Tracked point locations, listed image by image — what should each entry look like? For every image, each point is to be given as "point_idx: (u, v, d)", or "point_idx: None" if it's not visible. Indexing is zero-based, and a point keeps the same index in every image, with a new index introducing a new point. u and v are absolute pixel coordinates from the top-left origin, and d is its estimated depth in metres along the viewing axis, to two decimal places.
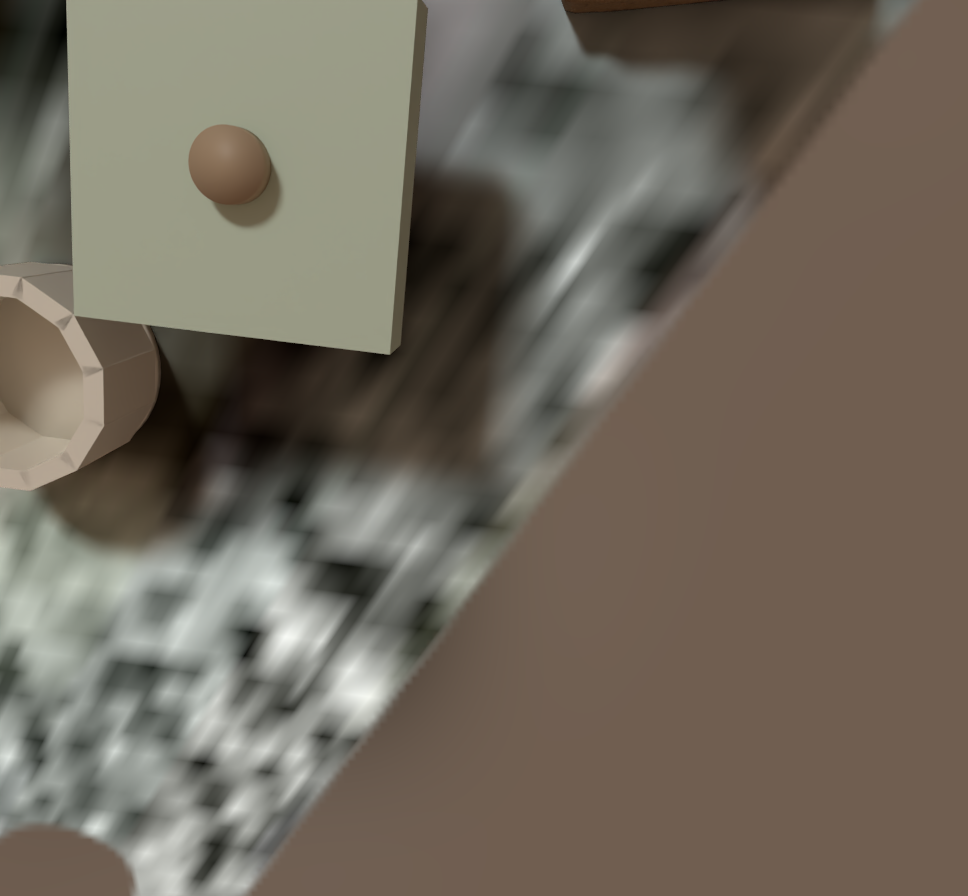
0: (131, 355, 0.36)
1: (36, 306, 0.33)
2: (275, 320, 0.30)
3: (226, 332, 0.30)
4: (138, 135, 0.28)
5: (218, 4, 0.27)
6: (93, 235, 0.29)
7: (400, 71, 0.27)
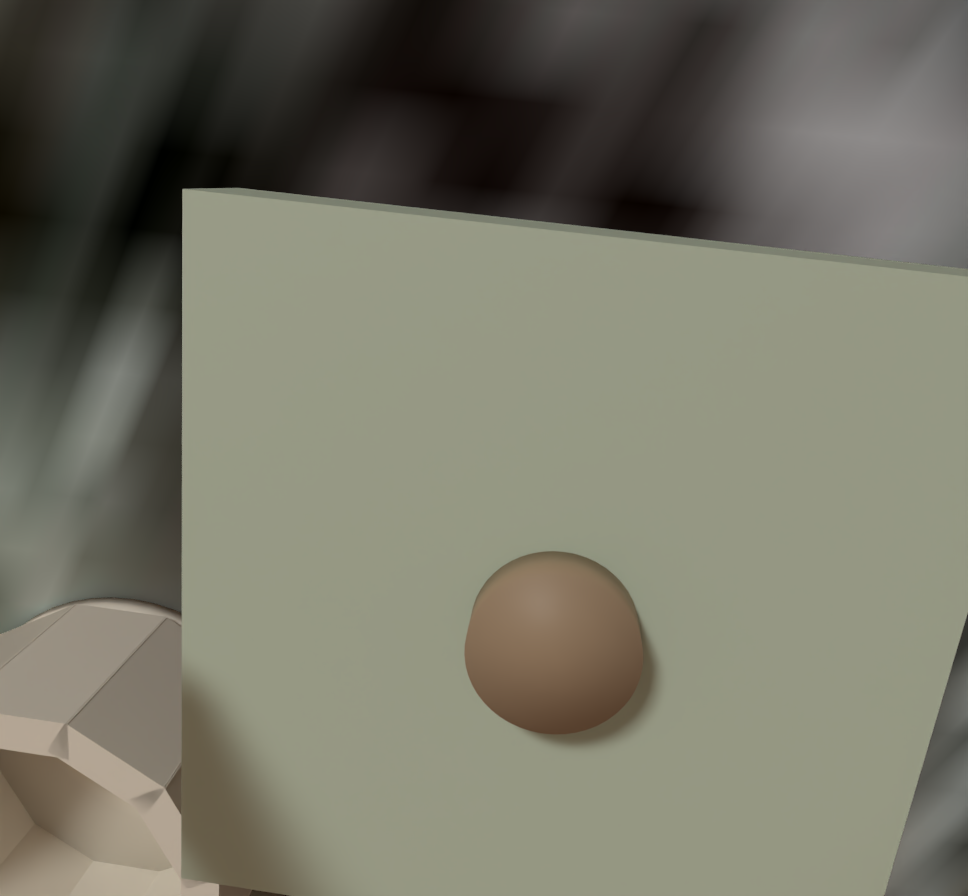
0: None
1: (94, 772, 0.17)
2: None
3: None
4: (337, 560, 0.13)
5: (551, 295, 0.11)
6: (227, 741, 0.14)
7: None
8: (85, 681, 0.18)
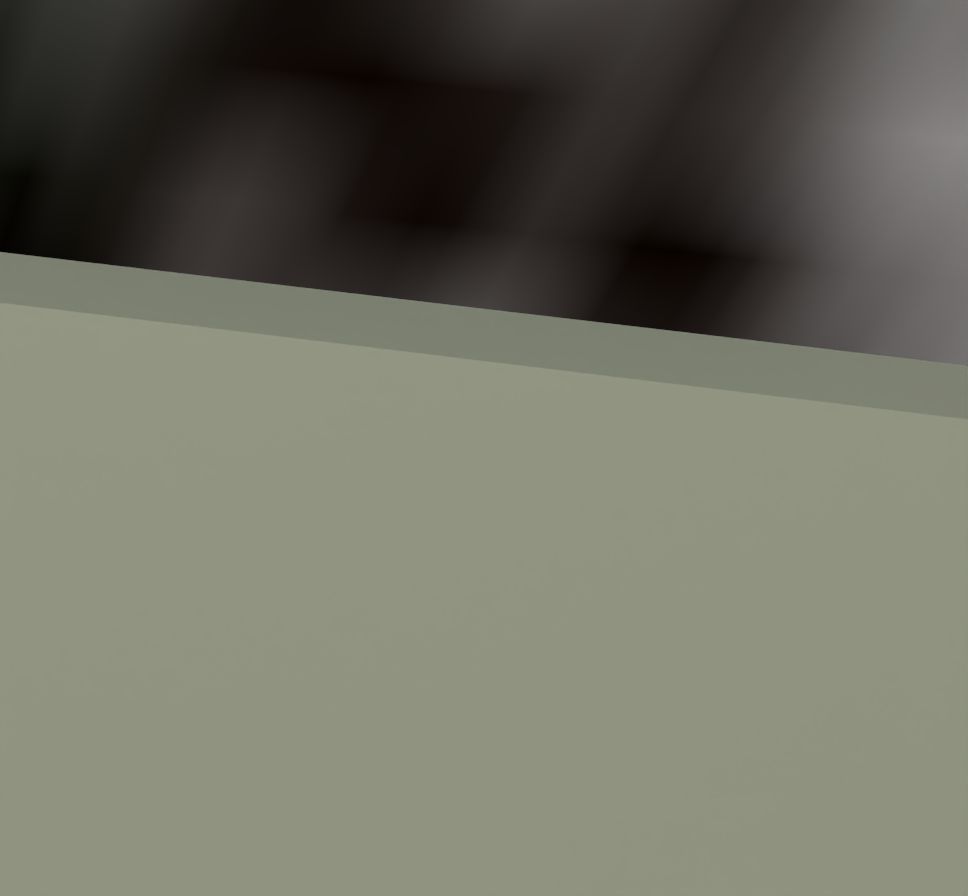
0: None
1: None
2: None
3: None
4: None
5: (497, 514, 0.05)
6: None
7: None
8: None
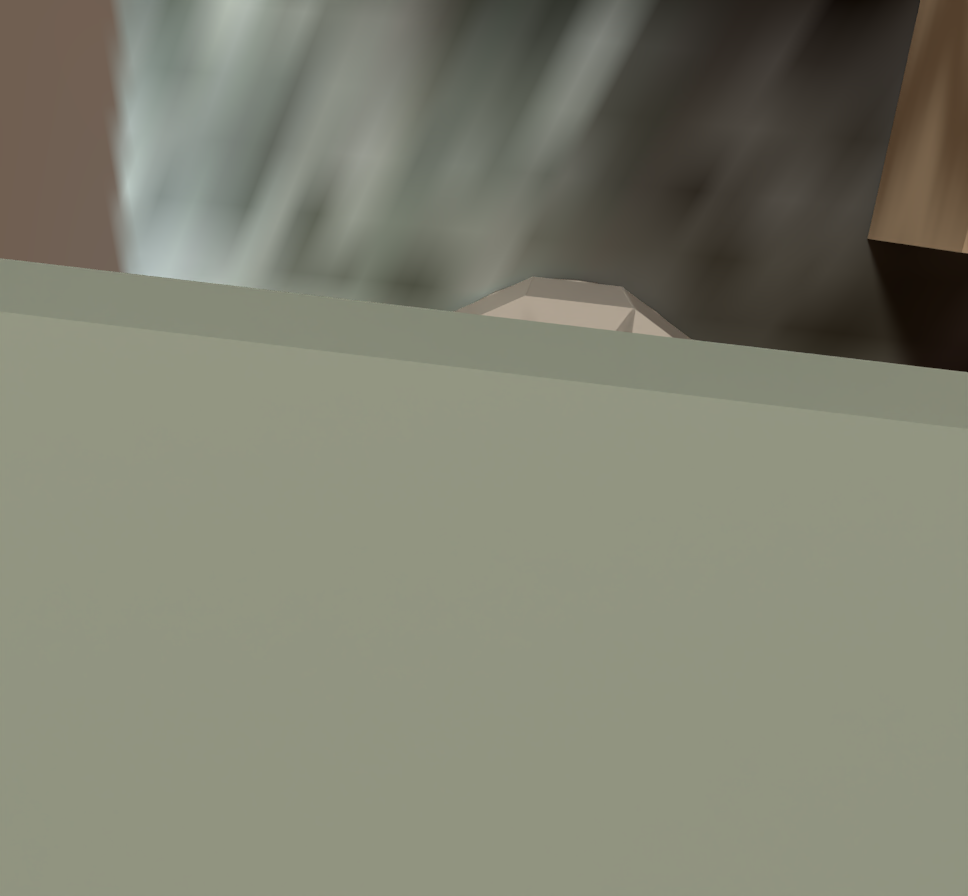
0: None
1: None
2: None
3: None
4: None
5: (495, 522, 0.05)
6: None
7: None
8: (612, 298, 0.19)
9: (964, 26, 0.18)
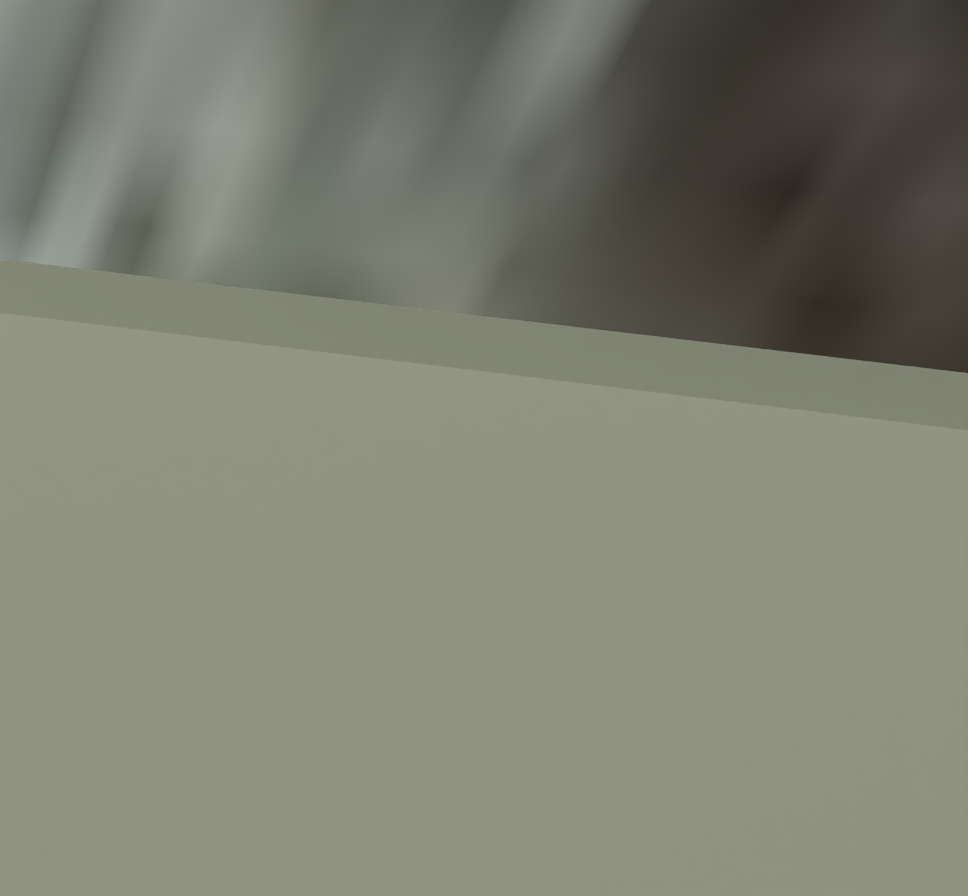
0: None
1: None
2: None
3: None
4: None
5: (495, 523, 0.05)
6: None
7: None
8: None
9: None
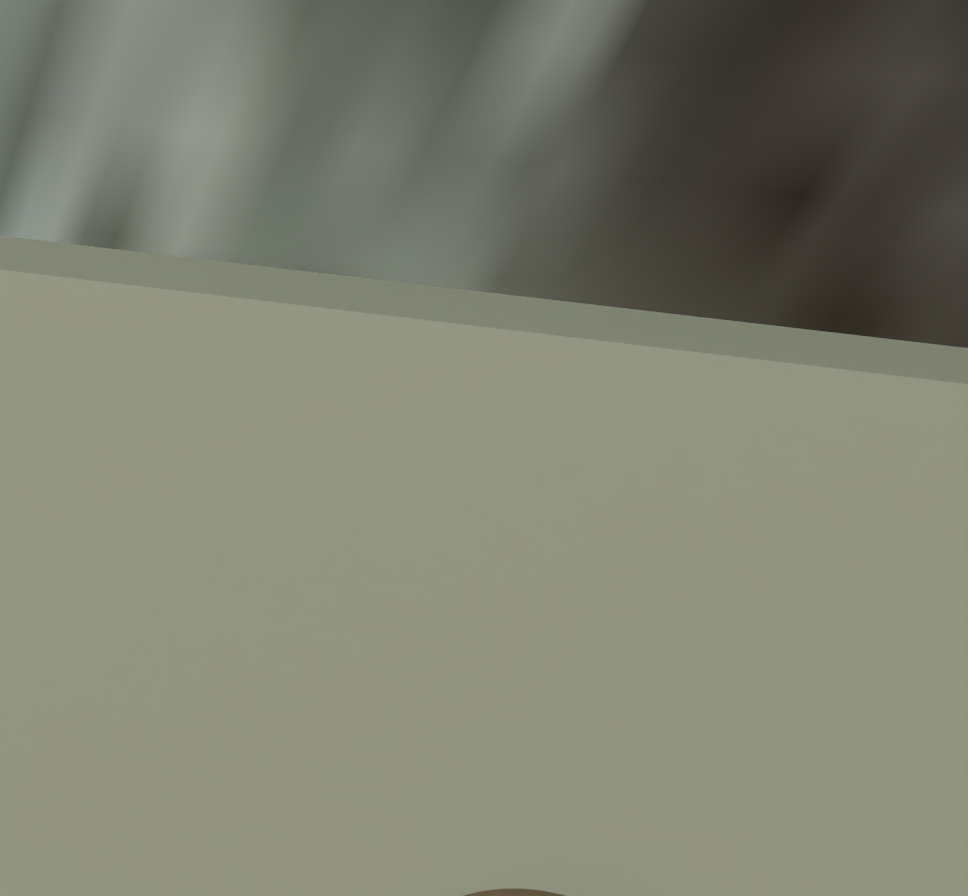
0: None
1: None
2: None
3: None
4: (143, 890, 0.07)
5: (512, 450, 0.06)
6: None
7: None
8: None
9: None
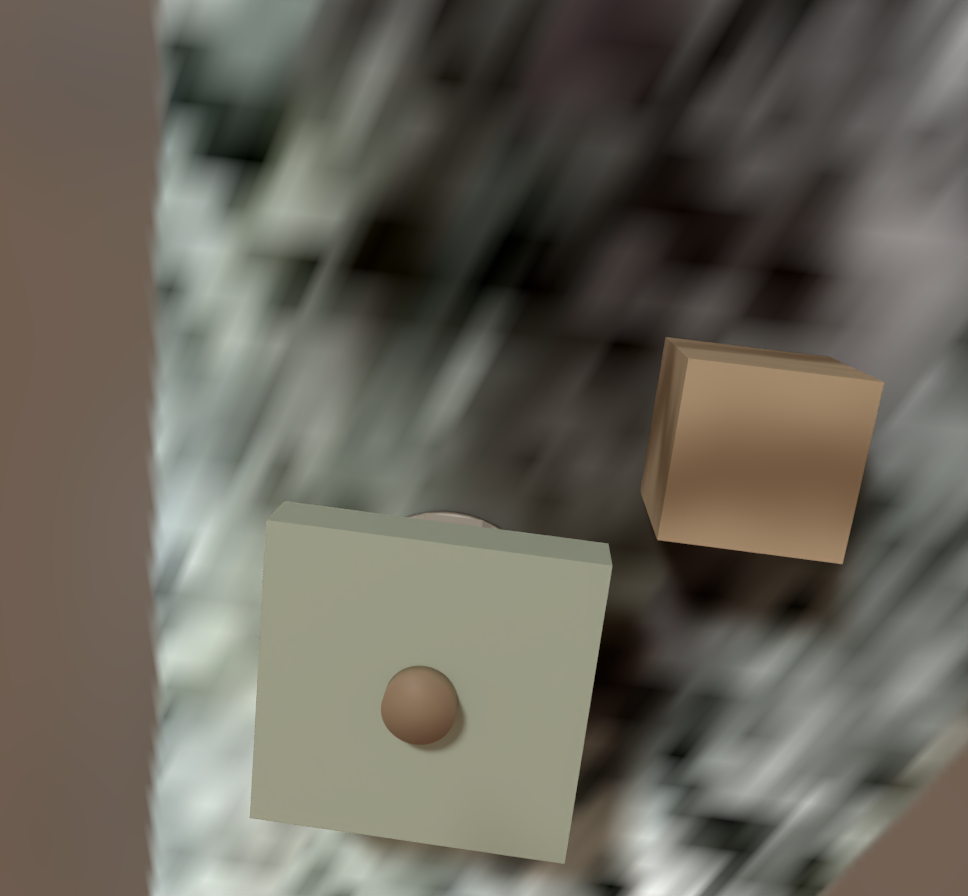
0: None
1: None
2: (452, 830, 0.30)
3: (402, 838, 0.31)
4: (327, 669, 0.29)
5: (415, 563, 0.28)
6: (275, 750, 0.30)
7: (591, 627, 0.28)
8: None
9: (668, 396, 0.30)
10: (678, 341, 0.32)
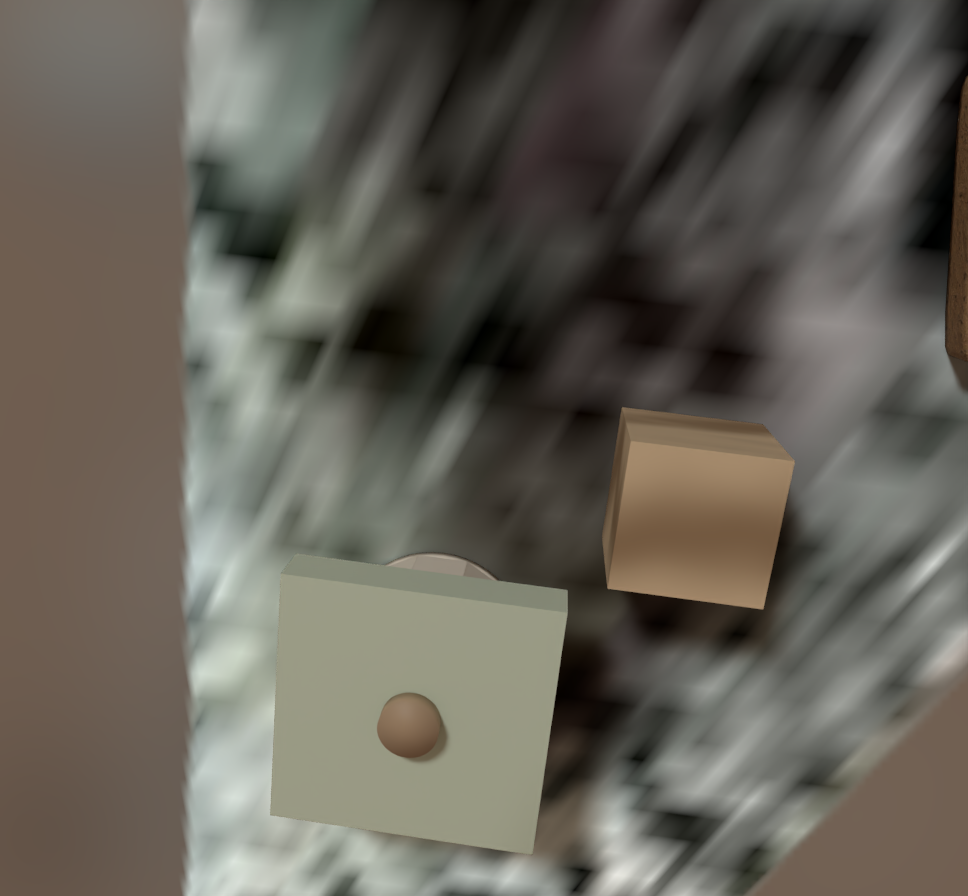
0: None
1: None
2: (438, 827, 0.36)
3: (397, 832, 0.37)
4: (332, 694, 0.35)
5: (404, 609, 0.34)
6: (290, 760, 0.36)
7: (550, 663, 0.34)
8: None
9: (620, 464, 0.36)
10: (631, 413, 0.37)
